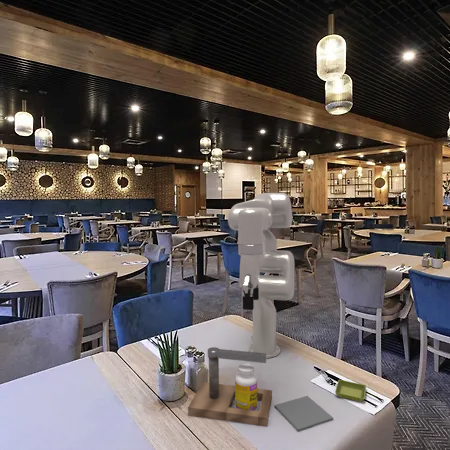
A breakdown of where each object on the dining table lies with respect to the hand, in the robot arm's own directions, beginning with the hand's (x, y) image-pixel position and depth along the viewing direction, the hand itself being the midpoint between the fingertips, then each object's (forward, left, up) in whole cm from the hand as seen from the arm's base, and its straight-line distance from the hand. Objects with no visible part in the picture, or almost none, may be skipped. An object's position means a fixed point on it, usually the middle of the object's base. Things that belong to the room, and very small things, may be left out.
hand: (251, 304), depth 106 cm
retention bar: (+2, -6, -15) cm, 16 cm away
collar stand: (+2, -8, -30) cm, 31 cm away
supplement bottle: (+4, -4, -31) cm, 31 cm away
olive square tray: (+11, +30, -31) cm, 44 cm away
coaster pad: (+13, +10, -30) cm, 34 cm away
